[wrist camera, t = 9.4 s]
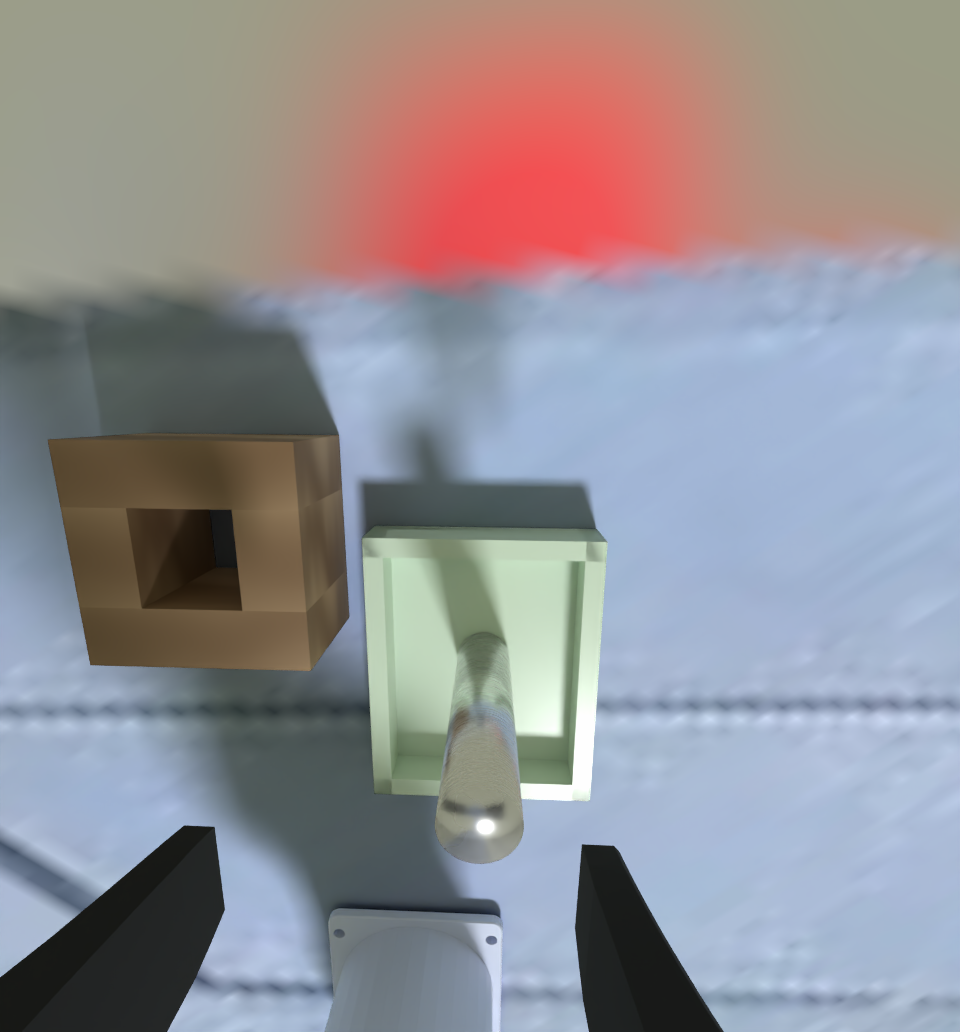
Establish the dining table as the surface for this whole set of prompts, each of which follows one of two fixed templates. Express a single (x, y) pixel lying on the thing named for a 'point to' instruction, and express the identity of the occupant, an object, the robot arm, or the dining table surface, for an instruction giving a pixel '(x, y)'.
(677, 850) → the dining table surface
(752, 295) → the dining table surface
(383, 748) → the tray
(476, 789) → the pin
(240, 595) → the walnut block
